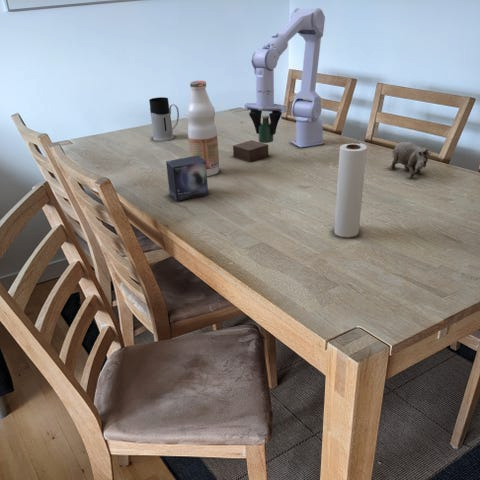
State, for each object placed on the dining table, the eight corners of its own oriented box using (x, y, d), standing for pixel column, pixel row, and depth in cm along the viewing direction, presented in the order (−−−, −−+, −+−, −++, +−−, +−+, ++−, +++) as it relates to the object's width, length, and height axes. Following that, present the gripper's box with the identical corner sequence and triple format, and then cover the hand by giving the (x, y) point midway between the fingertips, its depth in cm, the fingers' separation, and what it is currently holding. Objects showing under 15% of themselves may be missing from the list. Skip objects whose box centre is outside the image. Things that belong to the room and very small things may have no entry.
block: (251, 151, 187) (251, 140, 185) (268, 155, 182) (268, 144, 179) (233, 156, 183) (232, 145, 181) (249, 161, 177) (249, 150, 175)
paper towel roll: (342, 240, 123) (349, 151, 111) (329, 230, 128) (334, 145, 115) (367, 233, 125) (376, 146, 113) (353, 225, 130) (361, 140, 118)
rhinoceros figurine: (405, 155, 167) (423, 123, 153) (422, 189, 163) (442, 159, 149) (384, 160, 166) (400, 128, 152) (400, 194, 162) (418, 165, 147)
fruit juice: (191, 177, 166) (181, 85, 150) (192, 168, 174) (183, 80, 158) (219, 176, 166) (213, 83, 150) (219, 167, 174) (213, 78, 158)
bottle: (269, 138, 175) (269, 113, 171) (275, 141, 172) (275, 116, 167) (256, 140, 174) (255, 115, 170) (262, 143, 170) (261, 118, 166)
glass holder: (163, 134, 213) (158, 96, 205) (188, 138, 206) (184, 99, 198) (148, 139, 208) (142, 100, 199) (174, 143, 201) (169, 103, 192)
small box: (176, 202, 149) (172, 166, 143) (169, 195, 153) (164, 161, 148) (209, 194, 152) (206, 160, 146) (200, 188, 157) (197, 154, 151)
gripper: (239, 91, 164) (241, 134, 172) (280, 94, 158) (280, 138, 166) (249, 87, 169) (250, 129, 177) (289, 89, 163) (289, 133, 171)
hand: (265, 133), depth 171 cm, fingers closed on bottle, 5 cm apart
